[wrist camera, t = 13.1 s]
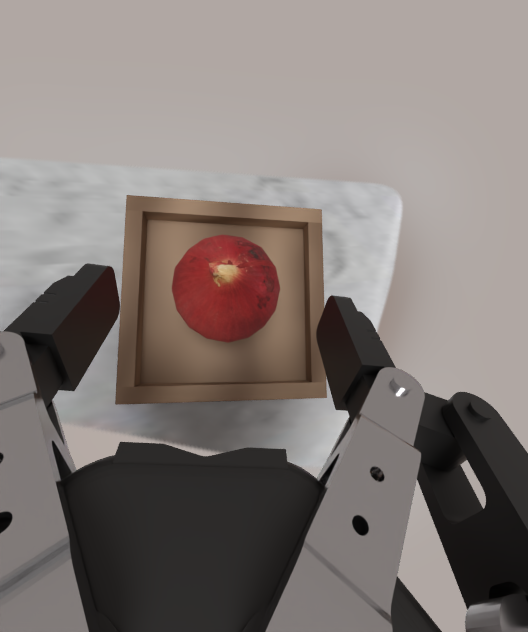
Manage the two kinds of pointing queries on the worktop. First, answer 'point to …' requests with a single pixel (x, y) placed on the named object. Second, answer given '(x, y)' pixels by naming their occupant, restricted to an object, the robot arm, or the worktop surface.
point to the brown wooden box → (189, 346)
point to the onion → (225, 288)
